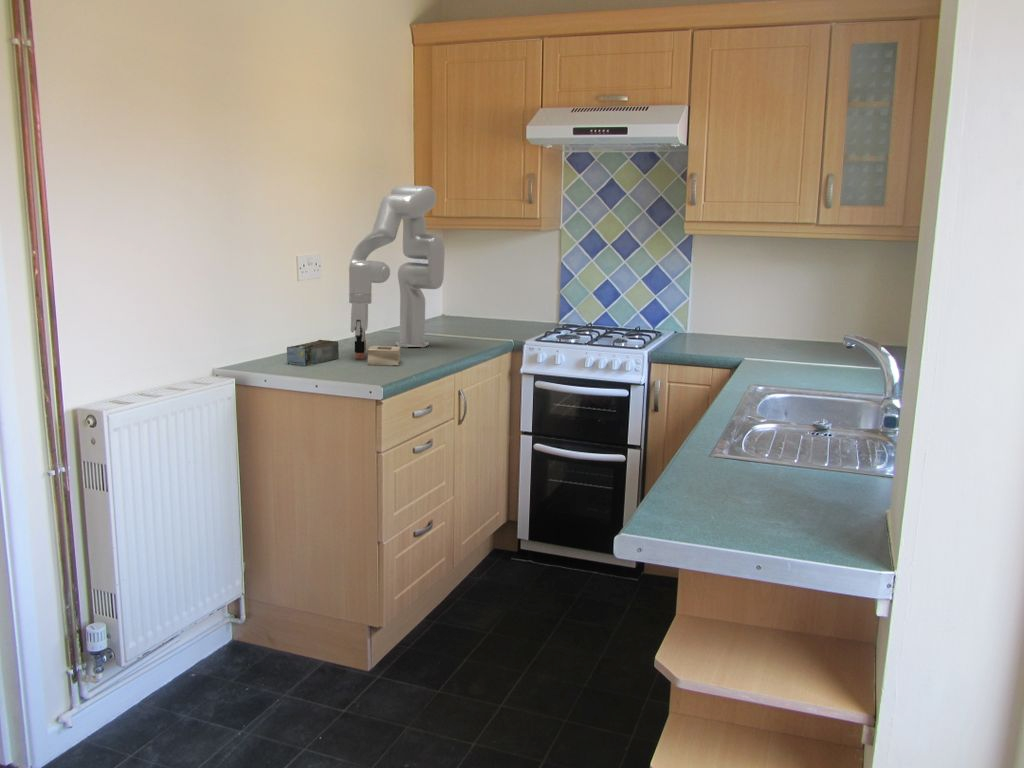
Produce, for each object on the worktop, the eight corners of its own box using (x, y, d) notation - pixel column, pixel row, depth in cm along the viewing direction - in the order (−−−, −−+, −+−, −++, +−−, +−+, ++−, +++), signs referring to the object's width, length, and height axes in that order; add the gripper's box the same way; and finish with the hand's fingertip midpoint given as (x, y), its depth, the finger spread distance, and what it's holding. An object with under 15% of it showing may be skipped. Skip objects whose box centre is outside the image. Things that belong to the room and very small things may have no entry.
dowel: (356, 357, 299) (356, 331, 297) (365, 357, 299) (365, 332, 297) (354, 359, 296) (354, 333, 294) (364, 359, 296) (364, 333, 294)
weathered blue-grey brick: (285, 364, 282) (285, 344, 280) (320, 357, 299) (320, 338, 298) (305, 367, 278) (305, 347, 277) (340, 359, 296) (340, 340, 294)
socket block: (370, 360, 295) (371, 345, 294) (400, 360, 295) (400, 346, 294) (367, 365, 285) (367, 350, 284) (398, 365, 285) (398, 351, 284)
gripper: (352, 296, 301) (352, 348, 305) (346, 300, 285) (346, 355, 289) (373, 296, 302) (373, 348, 305) (368, 301, 285) (368, 356, 289)
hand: (360, 351), depth 297 cm, fingers closed on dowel, 3 cm apart
